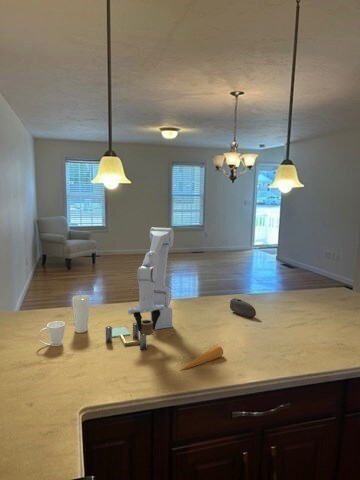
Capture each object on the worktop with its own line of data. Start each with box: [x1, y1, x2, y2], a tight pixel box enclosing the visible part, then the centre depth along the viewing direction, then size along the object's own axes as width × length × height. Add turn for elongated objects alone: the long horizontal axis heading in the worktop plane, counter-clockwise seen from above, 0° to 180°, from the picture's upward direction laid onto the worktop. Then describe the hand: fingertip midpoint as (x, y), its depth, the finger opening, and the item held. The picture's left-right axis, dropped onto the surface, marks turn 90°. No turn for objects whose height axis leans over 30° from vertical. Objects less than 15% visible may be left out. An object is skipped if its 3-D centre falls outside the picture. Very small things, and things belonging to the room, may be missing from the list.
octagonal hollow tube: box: [139, 319, 154, 337], centre depth 142 cm, size 5×5×4 cm
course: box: [105, 322, 147, 351], centre depth 140 cm, size 14×15×6 cm
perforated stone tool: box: [229, 297, 257, 318], centre depth 176 cm, size 15×5×7 cm, turn 39°
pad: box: [112, 326, 131, 339], centre depth 152 cm, size 8×8×1 cm
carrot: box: [179, 345, 224, 371], centre depth 127 cm, size 20×4×4 cm, turn 129°
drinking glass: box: [71, 294, 90, 334], centre depth 152 cm, size 7×7×15 cm
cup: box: [38, 320, 66, 347], centre depth 139 cm, size 7×10×8 cm
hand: (146, 329), depth 142 cm, fingers closed on octagonal hollow tube, 5 cm apart
